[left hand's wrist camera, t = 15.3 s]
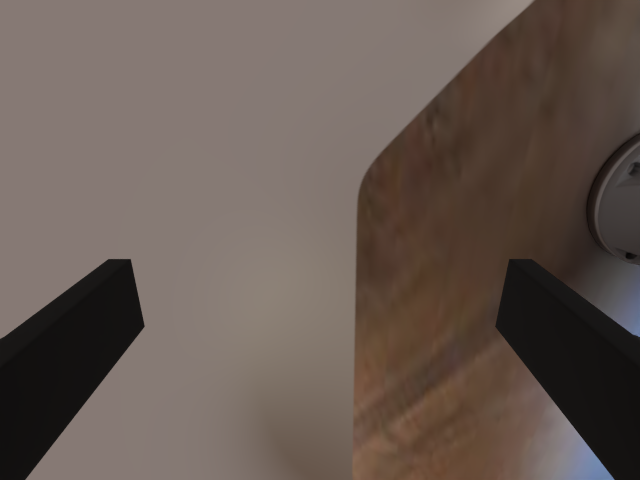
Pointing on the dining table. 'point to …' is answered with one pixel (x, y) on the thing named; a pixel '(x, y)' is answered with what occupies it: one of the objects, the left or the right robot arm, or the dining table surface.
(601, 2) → the dining table surface
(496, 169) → the dining table surface
